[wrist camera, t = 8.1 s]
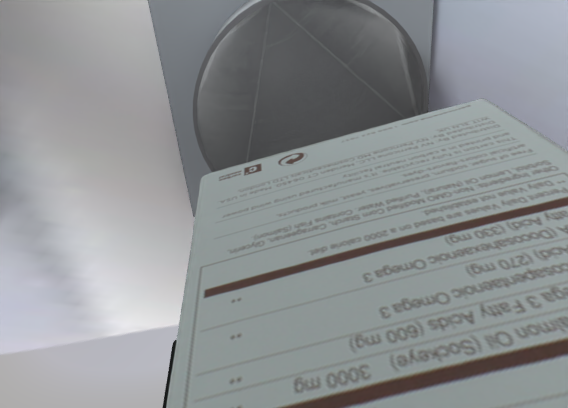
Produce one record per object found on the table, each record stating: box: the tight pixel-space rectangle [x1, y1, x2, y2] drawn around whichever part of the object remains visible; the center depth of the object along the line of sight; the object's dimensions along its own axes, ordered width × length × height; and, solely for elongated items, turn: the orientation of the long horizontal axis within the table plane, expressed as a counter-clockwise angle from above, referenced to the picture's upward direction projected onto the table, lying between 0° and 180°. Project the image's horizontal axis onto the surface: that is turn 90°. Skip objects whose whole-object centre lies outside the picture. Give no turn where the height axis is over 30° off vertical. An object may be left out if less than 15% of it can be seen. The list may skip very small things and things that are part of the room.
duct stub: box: [148, 0, 434, 217], centre depth 26 cm, size 15×15×6 cm
